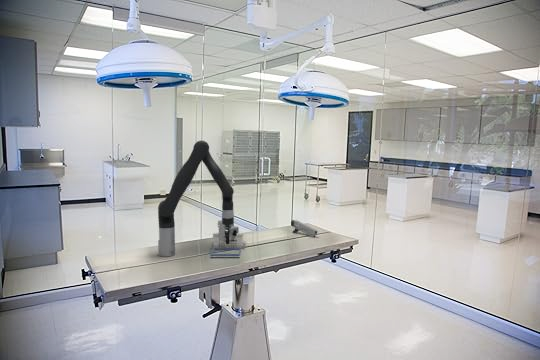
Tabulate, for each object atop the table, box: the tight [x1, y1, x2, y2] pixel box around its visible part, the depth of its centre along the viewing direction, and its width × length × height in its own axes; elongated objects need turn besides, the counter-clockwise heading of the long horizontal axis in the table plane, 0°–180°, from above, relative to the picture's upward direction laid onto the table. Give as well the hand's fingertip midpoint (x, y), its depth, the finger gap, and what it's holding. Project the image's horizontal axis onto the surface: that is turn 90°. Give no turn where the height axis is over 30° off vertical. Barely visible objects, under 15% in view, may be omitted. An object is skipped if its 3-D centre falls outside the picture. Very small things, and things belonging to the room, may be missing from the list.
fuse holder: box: [209, 240, 246, 250], centre depth 226 cm, size 22×9×5 cm, turn 91°
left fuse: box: [212, 232, 220, 248], centre depth 226 cm, size 4×4×9 cm
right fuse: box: [236, 232, 244, 248], centre depth 226 cm, size 4×4×9 cm
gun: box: [290, 219, 318, 238], centre depth 266 cm, size 2×25×10 cm, turn 44°
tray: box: [210, 248, 242, 259], centre depth 215 cm, size 17×13×2 cm
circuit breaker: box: [217, 219, 240, 242], centre depth 242 cm, size 8×14×15 cm, turn 53°
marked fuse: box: [225, 233, 232, 248], centre depth 226 cm, size 4×4×9 cm
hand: (227, 242), depth 226 cm, fingers closed on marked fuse, 3 cm apart
